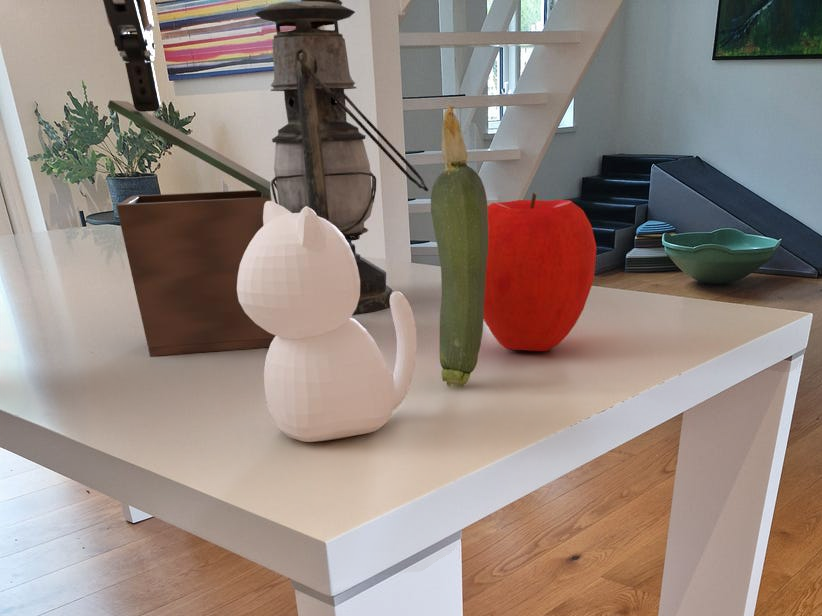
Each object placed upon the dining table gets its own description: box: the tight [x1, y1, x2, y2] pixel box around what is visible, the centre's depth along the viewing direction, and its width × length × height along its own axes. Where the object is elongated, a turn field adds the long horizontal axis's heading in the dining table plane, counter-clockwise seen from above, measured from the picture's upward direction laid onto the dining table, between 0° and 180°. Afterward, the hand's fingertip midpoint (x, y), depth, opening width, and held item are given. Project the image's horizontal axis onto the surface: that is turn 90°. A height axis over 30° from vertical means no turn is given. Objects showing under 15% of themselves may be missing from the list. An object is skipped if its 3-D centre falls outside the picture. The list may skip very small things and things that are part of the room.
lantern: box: [254, 0, 429, 315], centre depth 97 cm, size 19×19×30 cm
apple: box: [483, 192, 598, 352], centre depth 79 cm, size 12×12×13 cm
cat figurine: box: [237, 200, 418, 443], centre depth 60 cm, size 9×12×15 cm
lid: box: [107, 99, 271, 196], centre depth 81 cm, size 14×11×1 cm
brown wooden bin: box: [115, 189, 276, 357], centre depth 87 cm, size 14×11×13 cm
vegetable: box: [430, 105, 489, 387], centre depth 67 cm, size 4×4×20 cm
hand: (148, 111), depth 79 cm, fingers closed
